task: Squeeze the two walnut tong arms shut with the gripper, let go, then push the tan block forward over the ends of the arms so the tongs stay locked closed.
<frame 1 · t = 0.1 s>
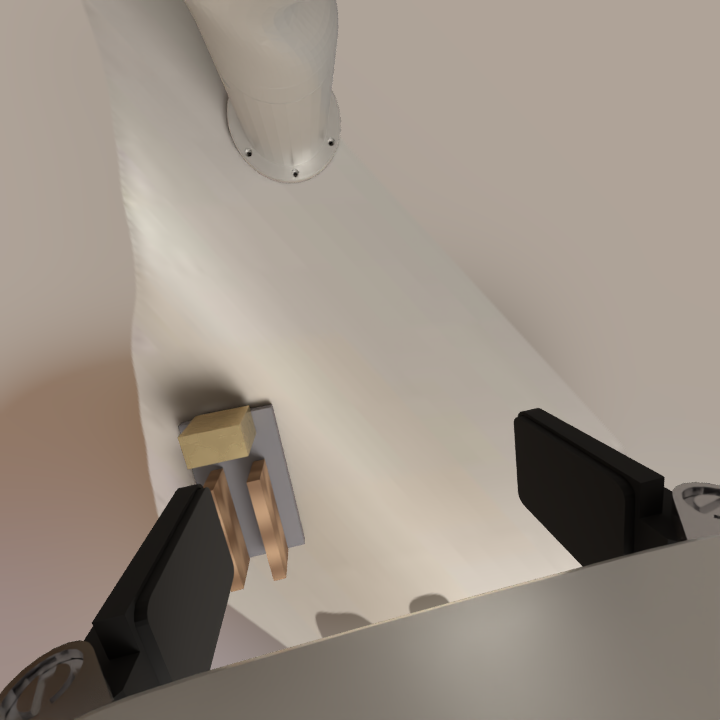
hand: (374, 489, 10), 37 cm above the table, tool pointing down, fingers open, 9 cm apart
tong arm 2: (227, 529, 46), point 4 cm above the table, slide at 0.0 cm
tan block: (220, 435, 42), point 5 cm above the table, slide at 0.0 cm
tong mat: (247, 484, 49), on the table
tong arm 1: (269, 519, 46), point 4 cm above the table, slide at 0.0 cm
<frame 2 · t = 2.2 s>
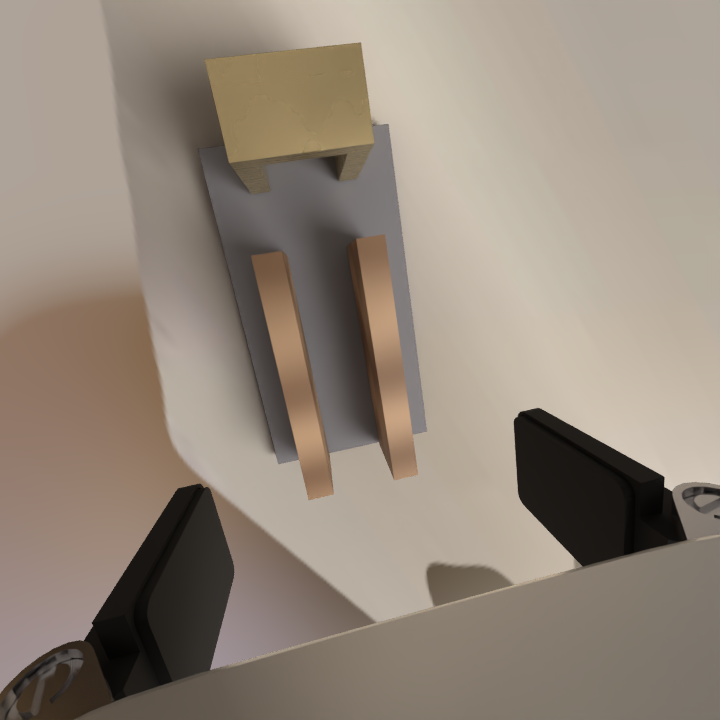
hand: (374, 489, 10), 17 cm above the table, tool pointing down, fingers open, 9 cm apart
tong arm 2: (297, 375, 22), point 4 cm above the table, slide at 0.0 cm
tan block: (296, 131, 18), point 5 cm above the table, slide at 0.0 cm
tong mat: (327, 308, 25), on the table
tong arm 1: (381, 358, 23), point 4 cm above the table, slide at 0.0 cm
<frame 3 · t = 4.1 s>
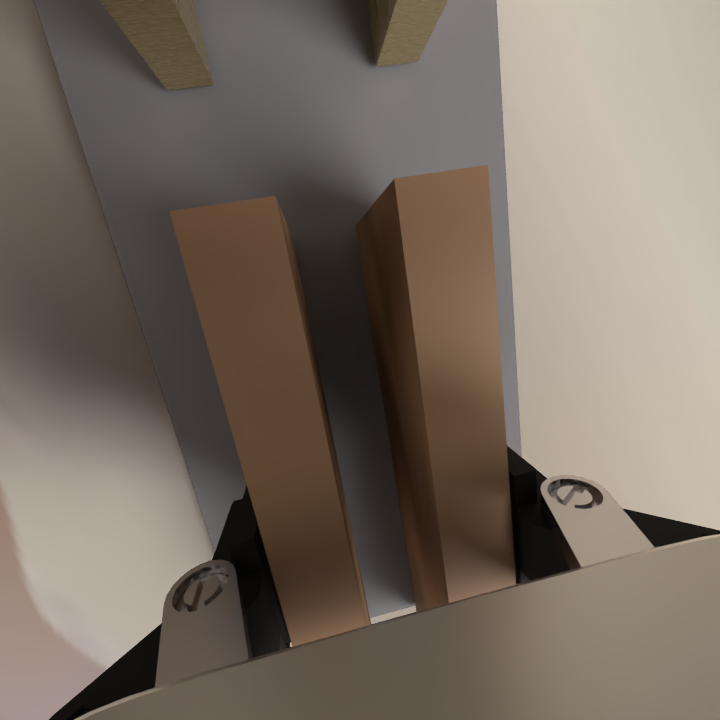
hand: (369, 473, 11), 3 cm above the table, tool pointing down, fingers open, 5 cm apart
tong arm 2: (316, 512, 9), point 4 cm above the table, slide at 1.0 cm
tong mat: (343, 350, 13), on the table
tong arm 1: (437, 483, 10), point 4 cm above the table, slide at 1.1 cm
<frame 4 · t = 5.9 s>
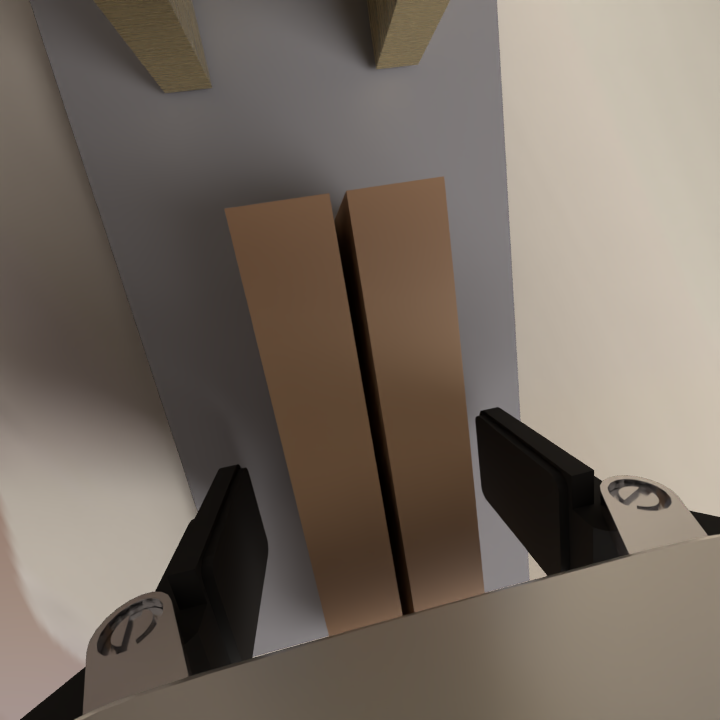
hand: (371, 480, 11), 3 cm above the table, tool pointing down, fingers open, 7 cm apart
tong arm 2: (346, 512, 9), point 4 cm above the table, slide at 1.9 cm
tong mat: (343, 354, 13), on the table
tong arm 1: (411, 496, 10), point 4 cm above the table, slide at 1.9 cm
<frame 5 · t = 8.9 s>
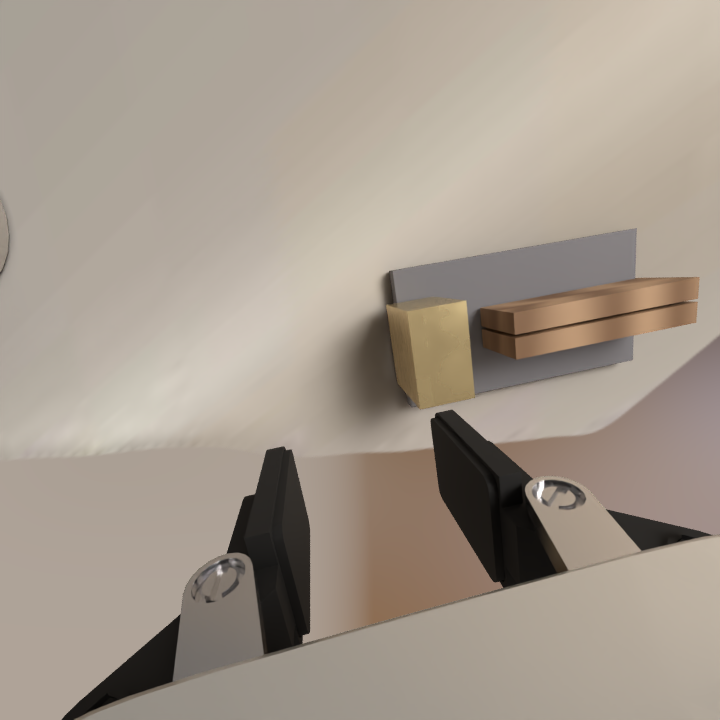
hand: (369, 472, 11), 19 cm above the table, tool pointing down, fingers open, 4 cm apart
tong arm 2: (583, 326, 28), point 4 cm above the table, slide at 1.9 cm
tan block: (427, 347, 26), point 5 cm above the table, slide at 0.0 cm
tong mat: (514, 317, 31), on the table
tong arm 1: (583, 303, 28), point 4 cm above the table, slide at 1.9 cm
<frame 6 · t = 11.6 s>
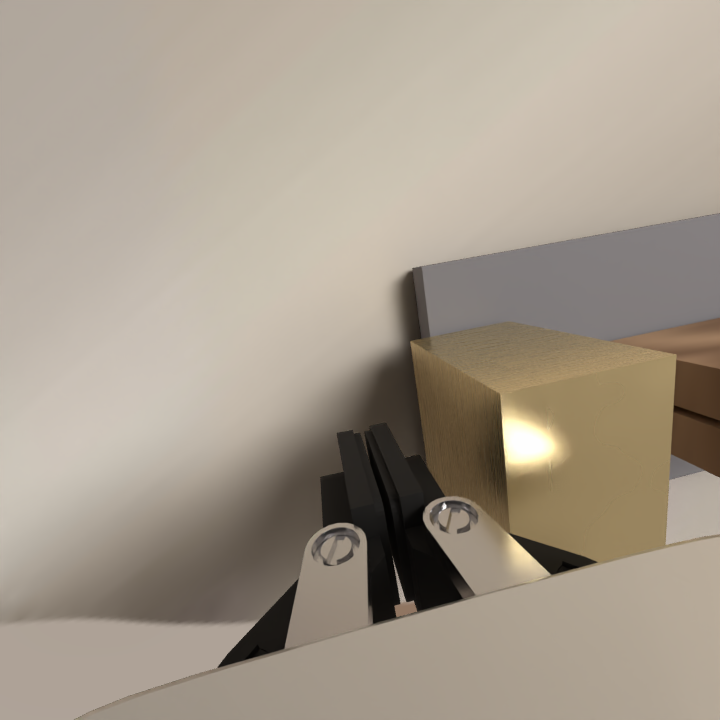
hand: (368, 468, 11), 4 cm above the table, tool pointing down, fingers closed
tan block: (512, 448, 11), point 5 cm above the table, slide at 0.1 cm, touching gripper
tong mat: (649, 356, 16), on the table
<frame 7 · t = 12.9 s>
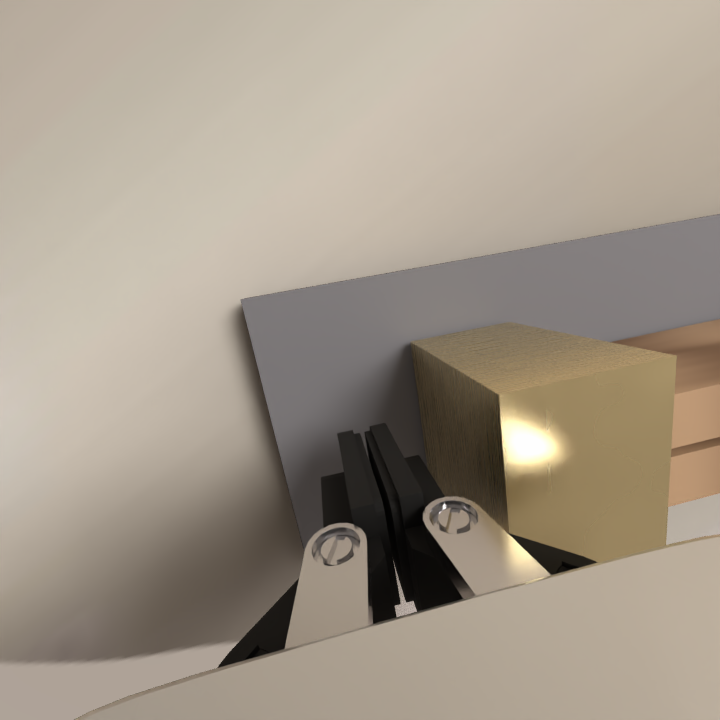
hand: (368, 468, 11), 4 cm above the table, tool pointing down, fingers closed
tong arm 2: (678, 423, 12), point 4 cm above the table, slide at 1.9 cm
tan block: (512, 449, 11), point 5 cm above the table, slide at 6.7 cm, touching gripper
tong mat: (521, 386, 16), on the table
tong arm 1: (681, 374, 12), point 4 cm above the table, slide at 1.9 cm
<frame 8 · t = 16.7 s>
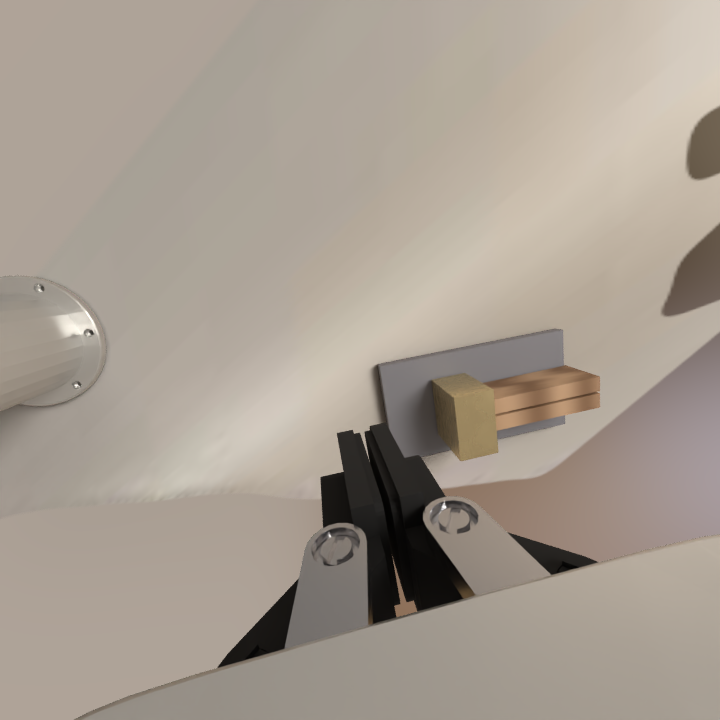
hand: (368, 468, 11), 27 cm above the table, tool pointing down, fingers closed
tong arm 2: (520, 406, 38), point 4 cm above the table, slide at 1.9 cm
tan block: (463, 414, 37), point 5 cm above the table, slide at 6.6 cm
tong mat: (473, 393, 42), on the table
tong arm 1: (519, 390, 38), point 4 cm above the table, slide at 1.9 cm
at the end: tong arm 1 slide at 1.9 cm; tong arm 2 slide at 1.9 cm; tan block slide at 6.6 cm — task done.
